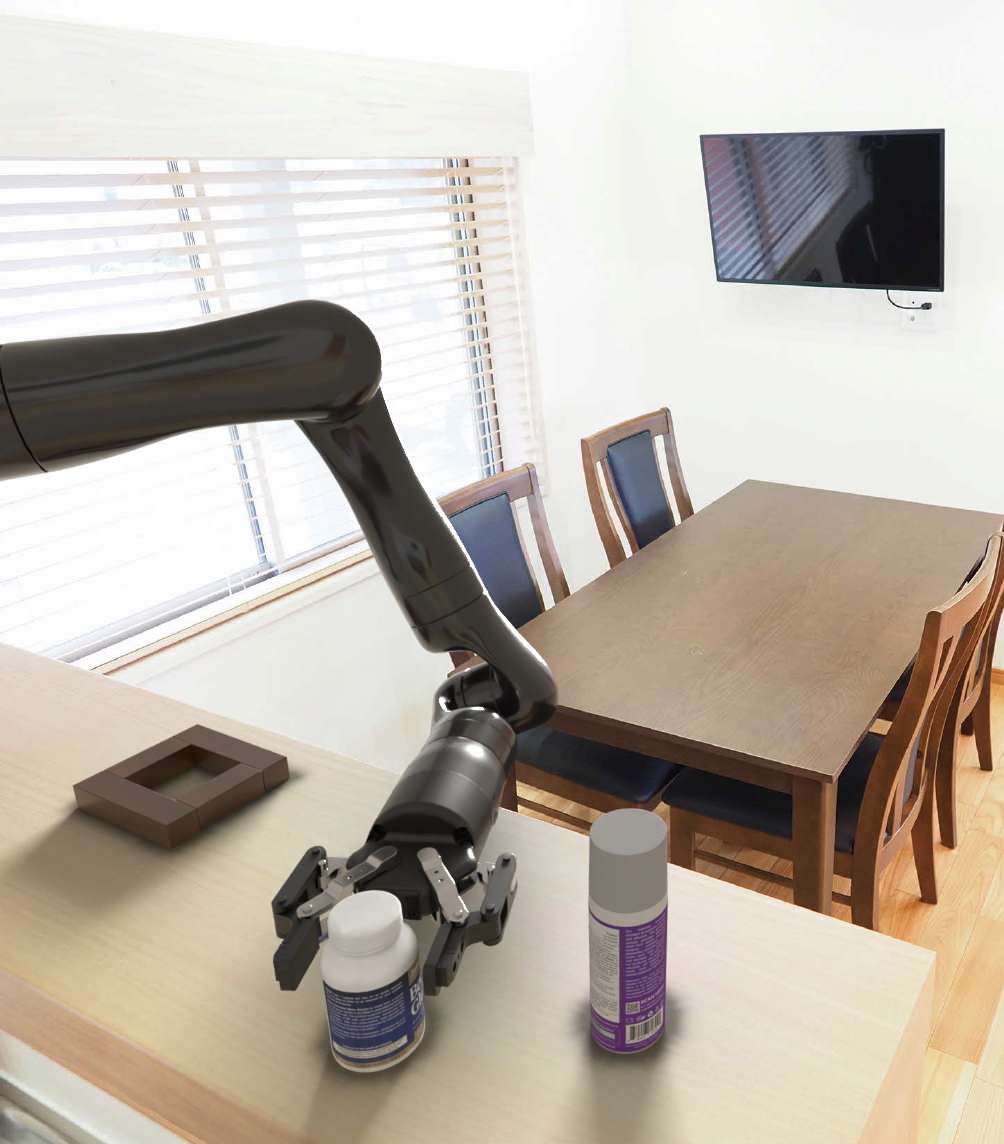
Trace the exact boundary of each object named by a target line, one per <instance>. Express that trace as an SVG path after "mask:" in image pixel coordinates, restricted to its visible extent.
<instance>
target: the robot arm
mask: <svg viewBox="0 0 1004 1144" xmlns="http://www.w3.org/2000/svg"><path fill="white" fill-rule="evenodd" d="M384 360H385V359H384V352H383V348H382V345H381V342H380V339H379V338H378V335H377V334H376V332H375V331H374V330H373V328H372V327H371V325H369V323H368V322H367V321H365V319H363V318H362V317H361V316H360V315H359V314H357V313H356V312H355V311H353V310H351V309H349V308H348V307H345V306H343V305H341V304H339V303H335V302H332V301H329V300H323V299H315V298H314V299H313V298H311V299H297V300H292V301H289V302H285V303H282V304H278V305H273V306H270V307H266V308H262V309H259V310H254V311H251V312H246V313H243V314H238V315H234V316H229V317H226V318H221V319H216V320H212V321H207V322H204V323H198V324H195V325H190V326H184V327H178V328H173V329H165V330H158V331H156V330H155V331H146V332H126V333H107V334H92V335H89V334H88V335H79V336H78V335H77V336H67V337H55V338H47V339H46V338H45V339H36V340H25V341H24V340H23V341H13V342H6V343H5V342H4V343H0V482H4V481H10V480H15V479H20V478H27V477H31V476H32V477H33V476H37V475H43V474H49V473H54V472H58V471H64V470H67V469H68V470H69V469H72V468H76V467H77V468H78V467H80V466H85V465H88V464H89V465H90V464H92V463H96V462H99V461H103V460H108V459H110V458H114V457H117V456H120V455H123V454H127V453H130V452H132V451H133V452H134V451H136V450H139V449H142V448H145V447H147V446H150V445H154V444H156V443H159V442H162V441H166V440H168V439H171V438H174V437H178V436H181V435H184V434H187V433H192V432H197V431H202V430H206V429H214V428H221V427H229V426H237V425H248V424H255V423H256V424H258V423H268V422H281V421H293V422H294V424H295V425H296V426H297V427H298V429H299V430H300V432H302V434H303V435H304V436H305V438H306V439H307V440H308V441H309V442H310V444H311V445H312V447H313V448H314V449H315V451H316V452H317V453H318V454H319V456H320V457H321V459H322V461H323V463H325V465H326V467H327V468H328V469H329V471H330V473H331V474H332V476H333V479H334V480H335V482H336V483H337V484H338V486H339V488H340V490H341V492H342V493H343V495H344V497H345V498H346V501H347V503H348V505H349V506H350V509H351V510H352V513H353V515H354V517H355V519H356V521H357V523H358V525H359V528H360V529H361V531H362V534H363V536H364V539H365V541H366V543H367V545H368V547H369V550H370V552H371V555H372V556H373V558H374V561H375V563H376V565H377V567H378V569H379V571H380V573H381V576H382V577H383V579H384V581H385V583H386V585H387V587H388V589H389V591H390V593H391V595H392V596H393V598H394V600H395V602H396V604H397V606H398V608H399V609H400V611H401V613H402V615H403V617H404V619H405V621H406V622H407V624H408V626H409V627H410V630H411V631H412V633H413V635H414V637H415V638H416V640H417V642H418V643H419V646H421V647H422V649H423V650H424V651H426V652H428V653H429V654H430V653H431V654H447V653H455V652H470V653H473V654H475V655H476V656H477V657H479V658H481V659H482V660H483V661H484V662H482V663H479V664H475V665H473V666H471V667H469V668H466V669H464V670H461V671H458V672H456V673H454V674H452V675H451V676H449V677H448V678H446V679H445V680H444V681H443V682H442V683H441V684H440V685H438V687H437V688H436V689H435V692H434V694H433V698H432V705H431V706H432V709H431V710H432V711H431V722H430V733H429V735H428V737H427V739H426V740H425V742H424V744H423V746H422V747H421V749H420V750H419V752H418V754H417V755H416V756H415V758H413V760H411V762H410V763H409V764H408V765H407V767H406V768H405V770H404V771H403V773H402V775H401V776H400V778H399V780H398V781H397V783H396V784H395V785H394V788H393V790H392V791H391V793H390V795H389V796H388V798H387V800H386V801H385V803H384V805H383V807H382V808H381V810H380V812H379V813H378V815H377V817H376V818H375V820H374V821H373V823H372V825H371V828H370V830H369V832H368V835H367V837H366V839H365V842H364V844H363V845H362V846H361V847H360V848H359V849H357V850H356V851H354V852H352V853H351V855H349V857H340V856H328V855H327V848H326V846H324V845H314V846H312V847H310V848H308V849H307V850H306V851H305V852H304V854H303V856H302V857H301V859H300V860H299V861H298V863H297V864H296V866H295V867H294V868H293V870H292V871H291V873H290V874H289V876H288V877H287V879H286V880H285V881H284V883H283V884H282V885H281V887H280V889H279V890H278V891H277V893H276V894H275V896H274V897H273V899H272V900H271V903H270V904H271V910H272V916H273V922H274V928H275V934H276V935H275V936H276V937H277V938H278V939H281V940H282V941H281V943H280V944H279V946H278V948H277V949H276V951H275V953H274V954H273V957H272V965H273V970H274V976H275V981H276V982H278V983H279V990H280V991H282V992H296V991H297V989H298V988H299V986H300V984H301V982H303V979H304V977H305V975H306V974H307V972H308V970H309V968H310V967H311V965H312V963H313V961H314V959H315V957H316V956H317V954H318V953H319V951H320V949H321V945H320V944H322V943H323V942H324V941H326V940H329V937H328V923H327V921H328V916H327V917H324V918H323V919H321V916H322V915H324V914H326V913H327V912H329V911H331V910H332V909H333V908H334V907H335V906H336V905H337V904H338V903H339V902H341V901H342V900H344V899H345V898H347V897H349V896H351V895H354V894H357V893H360V892H365V891H385V892H388V893H391V894H393V895H394V896H395V897H397V898H398V900H399V901H400V904H401V909H402V916H403V920H407V921H422V919H423V917H427V916H429V918H430V919H431V921H432V923H433V925H434V927H435V929H436V931H437V932H436V935H435V937H434V940H433V942H432V944H431V947H430V948H429V952H428V954H427V956H426V959H425V961H424V963H423V967H422V972H421V979H422V990H423V996H424V997H438V996H439V995H440V992H441V989H442V988H449V986H451V985H452V983H453V982H454V981H455V979H456V976H457V973H458V970H459V967H460V966H461V962H462V960H463V957H464V954H465V952H466V951H468V950H469V949H470V947H471V946H472V945H474V944H478V943H482V944H483V945H484V946H486V947H494V946H497V945H499V944H500V943H501V942H502V940H503V938H504V934H505V930H506V927H507V925H508V921H509V918H510V913H511V910H512V908H513V904H514V900H515V898H516V894H517V891H518V868H517V867H518V866H517V856H516V854H514V853H512V852H505V853H502V854H500V855H499V856H498V857H497V858H496V862H479V860H480V858H481V856H482V852H483V850H484V848H485V846H486V843H487V841H488V838H489V835H490V833H491V831H492V829H493V827H494V826H495V825H496V822H497V819H498V815H499V810H500V808H501V803H502V799H503V793H504V789H505V787H506V784H507V782H508V779H509V777H510V774H511V772H512V769H513V767H514V764H515V762H516V759H517V758H516V757H517V754H518V738H517V735H519V734H522V733H525V732H527V731H531V730H534V729H536V728H539V727H541V726H543V725H544V724H546V723H548V722H549V721H550V720H551V719H552V718H553V717H554V716H555V713H556V712H557V709H558V706H559V700H560V699H559V697H560V696H559V695H560V693H559V686H558V682H557V679H556V677H555V674H554V673H553V670H552V669H551V668H550V666H549V664H548V663H547V661H546V660H545V659H544V658H543V657H542V655H541V654H540V653H539V652H538V651H537V650H536V649H535V647H533V646H532V645H531V643H529V642H528V640H527V639H526V638H524V637H523V635H521V633H520V632H519V631H518V630H517V629H516V628H515V626H513V624H512V623H511V622H510V621H509V619H507V618H506V616H505V615H504V614H503V613H502V611H501V610H500V609H499V608H498V607H497V605H496V604H495V602H494V601H493V599H492V597H491V596H490V593H489V591H488V590H487V588H486V586H485V584H484V582H483V580H482V578H481V576H480V574H479V572H478V570H477V568H476V566H475V564H474V563H473V560H472V558H471V556H470V555H469V553H468V551H467V550H466V548H465V545H464V544H463V542H462V540H461V539H460V537H459V535H458V534H457V532H456V530H455V528H454V527H453V525H452V524H451V522H450V520H449V519H448V517H447V516H446V514H445V513H444V511H443V510H442V508H441V507H440V505H439V503H438V502H437V500H436V499H435V496H433V494H432V493H431V491H430V489H429V488H428V486H427V485H426V483H425V482H424V480H423V478H422V477H421V474H420V473H419V470H418V469H417V467H416V465H415V464H414V462H413V460H412V458H411V456H410V454H409V453H408V451H407V448H406V447H405V444H404V442H403V440H402V438H401V435H400V433H399V431H398V429H397V426H396V424H395V421H394V418H393V416H392V413H391V410H390V409H391V408H390V407H389V404H388V401H387V398H386V394H385V391H384V387H383V385H382V379H383V375H384V365H385V363H384V362H385V361H384ZM477 884H480V885H481V886H482V891H483V893H484V897H483V900H482V902H481V906H480V908H479V910H473V911H470V912H469V910H468V909H467V907H466V905H465V904H464V902H463V900H462V898H461V897H462V896H463V895H464V894H466V893H467V892H469V891H470V890H472V889H473V888H474V887H475V886H476V885H477Z"/></svg>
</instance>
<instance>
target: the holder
mask: <svg viewBox="0 0 1004 1144" xmlns="http://www.w3.org/2000/svg"><path fill="white" fill-rule="evenodd" d="M194 766H197V767H199V768H201V769H202V768H203V769H205V770H208V771H210V772H213V773H216V774H217V775H216V776H215V777H213V778H211V779H210V780H208V781H206V782H204V783H203V784H201V785H199V786H197V787H195V788H193V789H191V790H190V791H187V793H184V794H182V795H181V796H179V797H177V798H176V799H174V798H171V797H169V796H166V795H164V794H162V793H160V792H157V791H155V790H153V789H152V788H154V787H156V786H159V785H160V784H163V783H164V782H166V781H168V780H170V779H171V778H173V777H176V776H178V775H179V774H181V773H183V772H185V771H187V770H188V769H190V768H192V767H194ZM290 778H291V775H290V769H289V762H288V756H286V755H284V754H281V753H278V752H275V751H273V750H270V749H267V748H265V747H261V746H259V745H256V744H253V743H251V742H248V741H245V740H242V739H239V738H237V737H235V736H231V735H229V734H226V733H224V732H220V731H218V730H215V729H213V728H210V727H207V726H205V725H201V724H200V723H197V724H195V725H192V726H190V727H188V728H187V729H184V730H182V731H180V732H178V733H176V734H174V735H172V736H170V737H168V738H166V739H164V740H162V741H160V742H157V743H156V744H153V745H152V746H149V747H148V748H146V749H143V750H141V751H140V752H138V753H136V754H133V755H132V756H130V757H127V758H125V759H124V760H122V761H120V762H117V763H115V764H113V765H112V766H109V767H107V768H105V769H103V770H100V771H99V772H97V773H95V774H93V775H90V776H89V777H87V778H84V779H82V780H81V781H78V782H77V783H75V784H72V789H73V793H74V797H75V802H76V806H77V808H78V809H80V810H81V811H84V812H86V813H89V814H91V815H92V816H93V815H94V816H96V817H98V818H101V819H102V820H104V821H107V822H109V823H111V824H114V825H116V826H117V827H118V826H119V827H120V828H123V829H124V830H128V831H130V832H132V833H134V834H137V835H139V836H141V837H143V838H145V839H148V840H150V841H153V842H155V843H157V844H159V845H162V846H164V847H166V848H168V849H170V850H171V849H173V848H175V847H177V846H178V845H180V844H182V843H184V842H185V841H187V840H188V839H190V838H192V837H193V836H195V835H197V834H198V833H200V832H202V831H203V830H205V829H206V828H208V827H211V826H212V825H213V824H215V823H217V822H219V821H220V820H222V819H223V818H225V817H227V816H229V815H230V814H232V813H233V812H235V811H237V810H239V809H240V808H242V807H244V806H246V805H247V804H248V803H250V802H252V801H254V800H255V799H257V798H259V797H260V796H262V795H264V794H265V793H267V792H269V791H270V790H272V789H274V788H275V787H277V786H278V785H280V784H282V783H284V782H285V781H287V780H288V779H290Z"/></svg>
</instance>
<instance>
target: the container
mask: <svg viewBox="0 0 1004 1144" xmlns="http://www.w3.org/2000/svg"><path fill="white" fill-rule="evenodd" d="M588 842H589V844H588V845H589V846H588V853H589V854H588V899H587V900H588V901H587V902H588V903H587V904H588V905H587V906H588V907H587V909H588V911H587V912H588V958H589V959H588V960H589V961H588V963H589V964H588V965H589V969H588V971H589V1019H590V1021H589V1023H590V1024H589V1025H590V1033H591V1035H592V1038H593V1039H594V1041H595V1043H597V1045H599V1047H601V1048H603V1049H604V1050H606V1051H607V1052H611V1053H615V1054H619V1055H620V1054H621V1055H628V1054H629V1055H631V1054H635V1053H639V1052H642V1051H645V1050H647V1049H648V1048H650V1047H651V1046H653V1045H654V1044H656V1043H657V1042H658V1041H659V1039H660V1038H661V1036H662V1035H663V1032H664V1031H665V1026H666V1002H667V1001H666V1000H667V961H668V960H667V957H668V955H667V954H668V920H669V919H668V915H669V914H668V912H669V911H668V910H669V894H668V893H669V889H668V888H669V887H668V886H669V885H668V884H669V883H668V881H669V880H668V879H669V877H668V875H669V874H668V873H669V872H668V827H667V824H666V822H665V821H664V820H663V819H662V818H661V817H660V816H659V815H657V814H656V813H653V812H652V811H649V810H646V809H641V808H620V809H615V810H612V811H608V812H607V813H604V814H603V815H601V816H599V817H598V818H597V819H596V820H595V821H594V822H593V823H592V825H590V829H589V840H588Z"/></svg>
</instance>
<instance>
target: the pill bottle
mask: <svg viewBox="0 0 1004 1144" xmlns="http://www.w3.org/2000/svg"><path fill="white" fill-rule="evenodd" d="M327 917H328V921H327V923H328V937H329V938H328V939H327V941H326V942H325V944H324V946H323V948H322V950H321V952H320V956H319V971H320V978H321V985H322V991H323V992H322V993H323V998H324V1004H325V1005H324V1006H325V1012H326V1019H327V1026H328V1033H329V1041H330V1047H331V1053H332V1055H333V1057H334V1060H335V1061H336V1062H337V1063H338V1064H339V1065H340V1066H341V1067H342V1068H345V1069H346V1070H348V1071H352V1072H357V1073H375V1072H379V1071H383V1070H386V1069H389V1068H391V1067H393V1066H396V1065H397V1064H399V1063H400V1062H402V1061H403V1060H405V1059H407V1058H408V1057H409V1056H410V1055H411V1054H412V1053H413V1052H414V1051H415V1050H416V1049H417V1048H418V1047H419V1046H420V1043H421V1042H422V1040H423V1038H424V1034H425V1030H426V1015H425V1006H424V993H423V982H422V972H421V962H420V953H419V943H418V939H417V936H416V934H415V932H414V930H413V929H412V928H411V926H410V925H408V923H406V922H404V919H403V916H402V909H401V904H400V901H399V900H398V898H397V897H395V896H394V895H393V894H391V893H388V892H385V891H365V892H360V893H357V894H354V893H353V894H352V895H351V896H349V897H347V898H345V899H344V900H342V901H341V902H339V903H338V904H337V905H336V906H335V907H334V908H333V909H332V910H330V912H329V914H328V916H327Z"/></svg>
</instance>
